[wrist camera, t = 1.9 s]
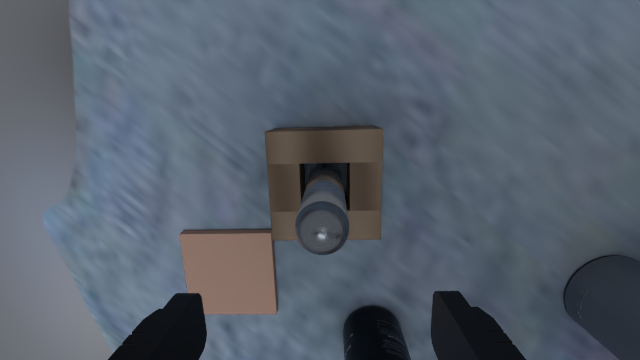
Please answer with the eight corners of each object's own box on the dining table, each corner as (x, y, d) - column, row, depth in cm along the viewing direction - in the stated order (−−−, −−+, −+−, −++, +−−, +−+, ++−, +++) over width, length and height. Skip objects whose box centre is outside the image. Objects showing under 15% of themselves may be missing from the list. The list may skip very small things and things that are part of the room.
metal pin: (340, 159, 31) (351, 209, 15) (341, 189, 31) (351, 265, 16) (310, 160, 31) (290, 210, 16) (311, 190, 31) (293, 265, 16)
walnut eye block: (374, 125, 30) (383, 128, 25) (373, 219, 32) (380, 239, 27) (275, 128, 30) (264, 131, 25) (281, 220, 32) (272, 240, 28)
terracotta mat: (272, 229, 33) (270, 233, 32) (278, 308, 35) (276, 314, 34) (183, 230, 33) (179, 234, 32) (195, 308, 35) (191, 314, 34)
